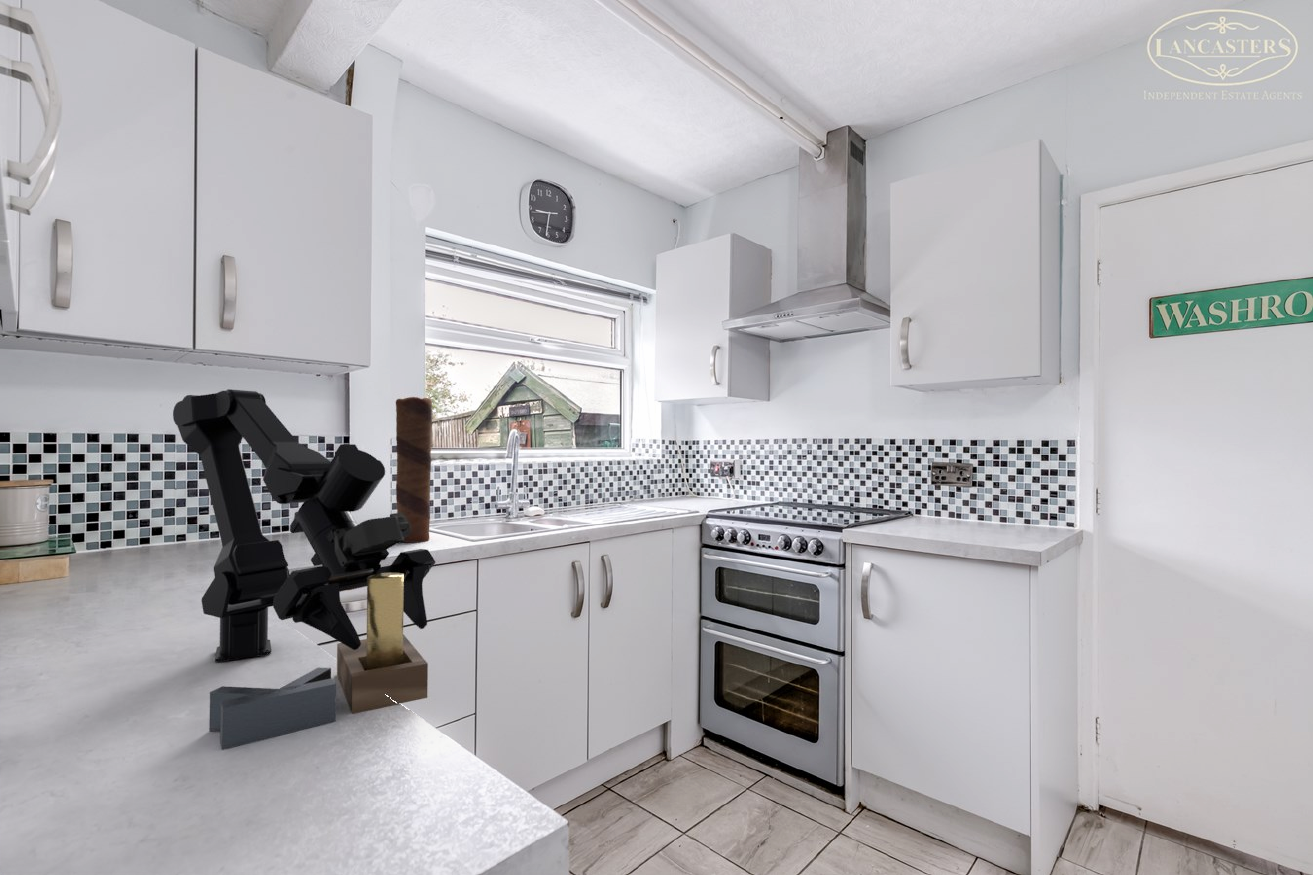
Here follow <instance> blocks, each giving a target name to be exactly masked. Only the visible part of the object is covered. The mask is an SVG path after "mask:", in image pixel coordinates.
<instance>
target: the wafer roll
mask: <svg viewBox="0 0 1313 875" xmlns="http://www.w3.org/2000/svg"><path fill="white" fill-rule="evenodd" d="M432 405H433V403H432V399H431V398H429V397H424V398H421V397H418V396H417V397H416V396H409V397H405V398H397V399H396V400H395V413H396V414H395V419H396V420H395V422H396V425H395V427H396V428H395V432H396V433H395V434H396V437H395V439H396V450H395V451H396V462H397V464H396V465H397V466H396V476H395V477H396V478H395V479H396V484H395V491H396V493H395V495H396V496H395V497H396V498H395V500H396V513H403V515H404V516H405V517H406V518H407V520H408V521H409V523H410V527H411V534H410V535H409V536H407V537H405V538H404V541H403V542H402V543H422V542H423V543H424V542H427V541H428V542H429V540H430V522H431V521H430V520H431V513H430V512H431V506H430V505H431V504H430V503H431V501H430V500H431V474H432V473H431V470H432V458H431V457H432V455H431V454H432V453H431V452H432V422H433V421H432V415H433V409H432V408H433V406H432Z"/></svg>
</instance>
